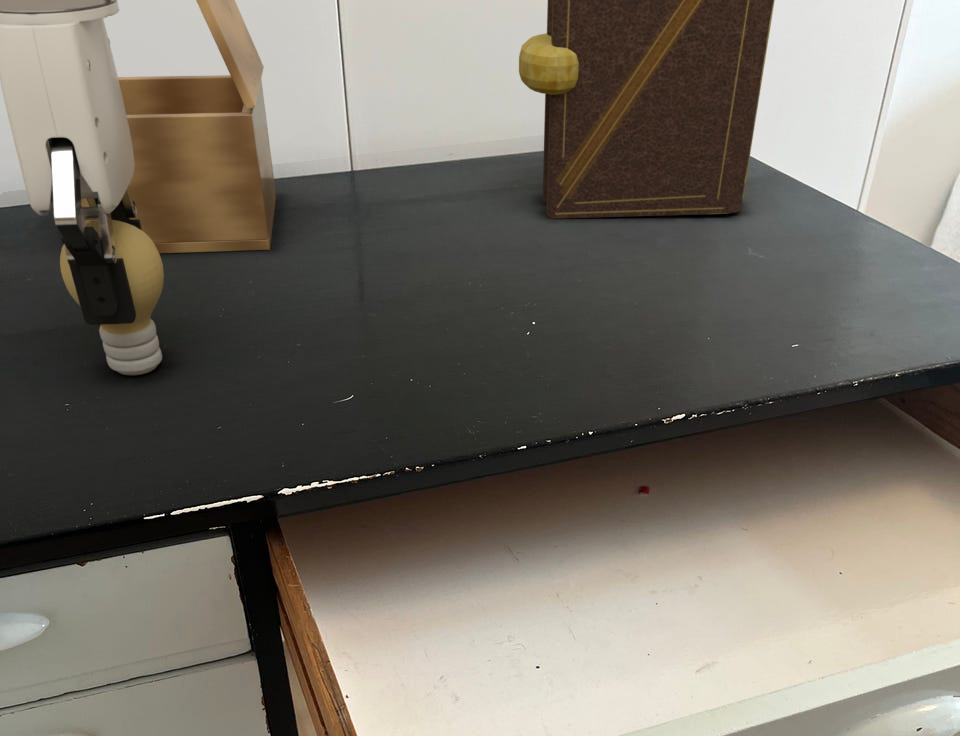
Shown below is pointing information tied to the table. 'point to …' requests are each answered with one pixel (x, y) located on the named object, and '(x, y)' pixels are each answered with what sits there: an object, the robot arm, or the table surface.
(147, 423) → the table surface
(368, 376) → the table surface
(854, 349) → the table surface
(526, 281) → the table surface
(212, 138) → the chest
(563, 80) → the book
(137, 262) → the light bulb
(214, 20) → the lid
